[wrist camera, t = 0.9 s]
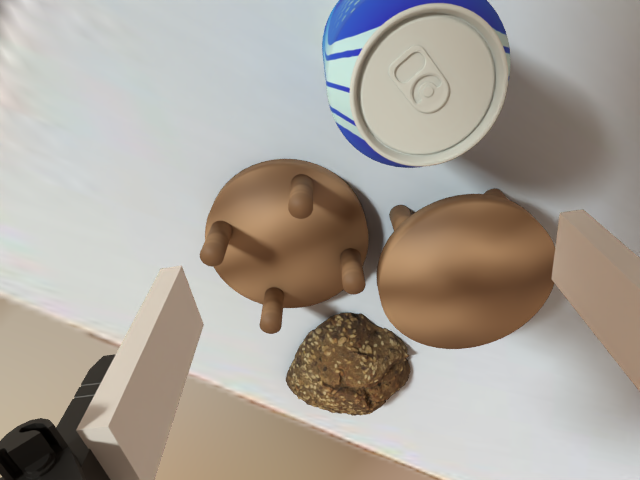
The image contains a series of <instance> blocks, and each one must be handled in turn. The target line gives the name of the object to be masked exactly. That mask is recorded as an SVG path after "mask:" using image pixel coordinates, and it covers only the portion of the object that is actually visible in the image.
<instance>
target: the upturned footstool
mask: <svg viewBox="0 0 640 480" xmlns="http://www.w3.org/2000/svg"><path fill="white" fill-rule="evenodd" d="M368 243H369V240H368V229H367V223H366V219H365V214H364V211H363V208H362V205H361V203H360V201H359V199H358V198H357V196H356V194H355V193H354V192H353V190H352V189H351V188H350V187H349V186H348V185H347V183H346V182H345V181H343V180H342V179H341V178H340V177H339V176H337V175H336V174H334V173H333V172H331V171H329V170H328V169H326V168H324V167H321V166H319V165H317V164H314V163H310V162H307V161H302V160H296V159H276V160H269V161H265V162H261V163H258V164H255V165H252V166H250V167H248V168H246V169H244V170H242V171H241V172H239V173H238V174H237V175H235V176H234V177H233V178H232V179H230V180H229V181H228V182H227V183H226V184H225V186H224V187H223V188H222V189H221V191H220V192H219V194H218V196H217V197H216V199H215V201H214V203H213V206H212V208H211V210H210V213H209V215H208V218H207V223H206V229H205V243H204V245H203V248H202V250H201V252H200V258H201V260H202V262H203V263H204V264H206V265H208V266H214V268H215V270H216V272H217V273H218V274H219V275H220V277H221V278H222V279H223V280H224V281H225V282H226V283H227V284H228V285H229V286H230V287H231V288H232V289H234V290H235V291H236V292H238V293H239V294H241V295H243V296H244V297H246V298H248V299H250V300H252V301H255V302H258V303H261V304H263V308H262V314H261V320H260V328H261V329H262V331H264V332H266V333H269V334H273V333H276V332H278V331H279V330H280V329H281V324H282V313H283V308H299V307H306V306H311V305H314V304H318V303H321V302H323V301H326V300H328V299H330V298H332V297H333V296H335V295H337V294H338V293H340V292H341V291H343V290H345V291H346V292H347V293H349V294H358V293H360V292H362V291H363V290H364V288H365V279H364V273H363V267H362V266H363V264H364V261H365V259H366V255H367V251H368Z"/></svg>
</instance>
